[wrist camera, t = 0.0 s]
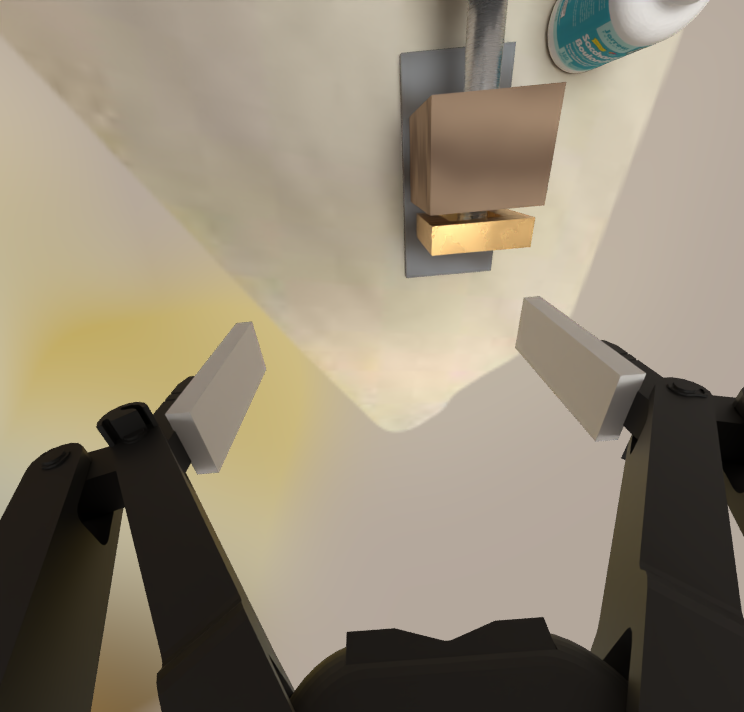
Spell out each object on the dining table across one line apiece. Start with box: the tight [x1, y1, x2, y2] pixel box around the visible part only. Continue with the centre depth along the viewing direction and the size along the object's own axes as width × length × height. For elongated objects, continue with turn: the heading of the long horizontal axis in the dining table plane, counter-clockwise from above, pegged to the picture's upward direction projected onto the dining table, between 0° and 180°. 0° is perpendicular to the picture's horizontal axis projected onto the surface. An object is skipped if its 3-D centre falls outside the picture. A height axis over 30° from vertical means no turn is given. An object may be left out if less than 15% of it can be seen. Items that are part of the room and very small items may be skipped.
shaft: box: [457, 0, 508, 221], centre depth 27 cm, size 23×4×5 cm, turn 5°
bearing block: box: [400, 42, 566, 278], centre depth 32 cm, size 22×11×13 cm, turn 5°
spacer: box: [417, 209, 535, 256], centre depth 33 cm, size 2×9×9 cm, turn 95°
